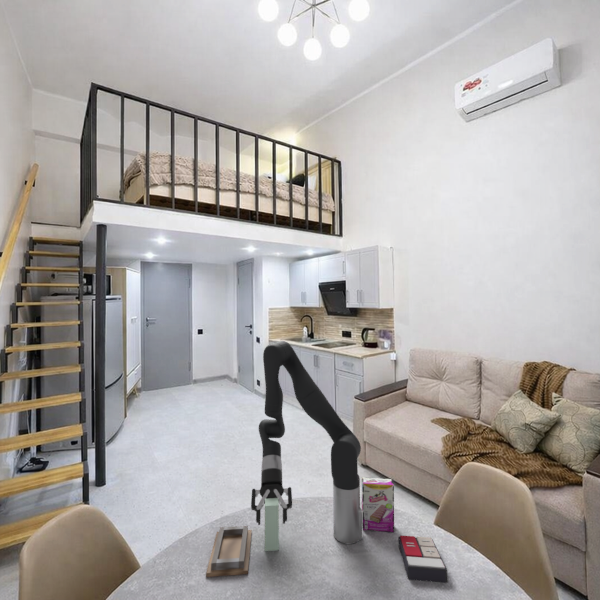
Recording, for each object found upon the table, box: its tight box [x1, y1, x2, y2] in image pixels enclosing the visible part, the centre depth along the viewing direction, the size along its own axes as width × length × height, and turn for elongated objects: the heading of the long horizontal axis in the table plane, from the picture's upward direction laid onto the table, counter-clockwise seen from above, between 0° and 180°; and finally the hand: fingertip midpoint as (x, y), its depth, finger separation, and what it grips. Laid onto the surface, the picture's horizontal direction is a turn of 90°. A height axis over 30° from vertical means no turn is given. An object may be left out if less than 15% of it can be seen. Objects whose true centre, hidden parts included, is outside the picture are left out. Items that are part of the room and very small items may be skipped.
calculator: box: [398, 535, 449, 584], centre depth 100 cm, size 11×4×15 cm
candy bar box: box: [361, 477, 395, 533], centre depth 118 cm, size 11×5×16 cm, turn 84°
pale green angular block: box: [264, 498, 280, 552], centre depth 108 cm, size 4×4×14 cm
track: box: [205, 525, 253, 578], centre depth 105 cm, size 12×19×3 cm, turn 5°
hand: (271, 523), depth 107 cm, fingers open, 7 cm apart
